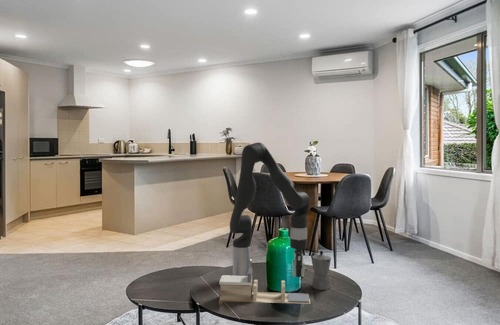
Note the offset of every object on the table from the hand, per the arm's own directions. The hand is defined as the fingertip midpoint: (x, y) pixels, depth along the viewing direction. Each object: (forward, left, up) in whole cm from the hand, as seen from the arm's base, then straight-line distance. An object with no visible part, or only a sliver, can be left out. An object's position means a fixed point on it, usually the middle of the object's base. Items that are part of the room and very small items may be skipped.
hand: (298, 274), depth 177 cm
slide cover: (+19, -21, -4) cm, 28 cm away
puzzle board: (+10, -11, -12) cm, 19 cm away
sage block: (0, 0, 0) cm, 0 cm away
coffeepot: (-23, -6, -12) cm, 27 cm away
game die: (-27, -23, -12) cm, 38 cm away
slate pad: (0, 0, -11) cm, 11 cm away
